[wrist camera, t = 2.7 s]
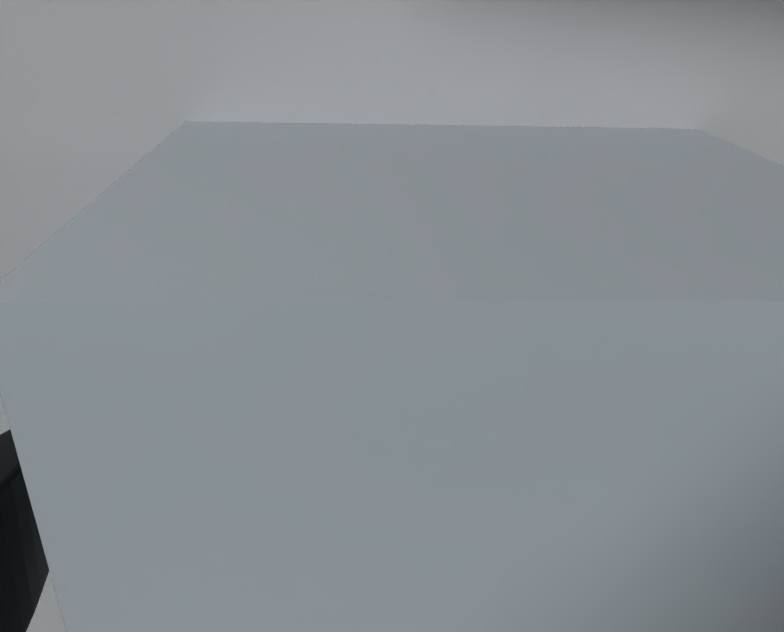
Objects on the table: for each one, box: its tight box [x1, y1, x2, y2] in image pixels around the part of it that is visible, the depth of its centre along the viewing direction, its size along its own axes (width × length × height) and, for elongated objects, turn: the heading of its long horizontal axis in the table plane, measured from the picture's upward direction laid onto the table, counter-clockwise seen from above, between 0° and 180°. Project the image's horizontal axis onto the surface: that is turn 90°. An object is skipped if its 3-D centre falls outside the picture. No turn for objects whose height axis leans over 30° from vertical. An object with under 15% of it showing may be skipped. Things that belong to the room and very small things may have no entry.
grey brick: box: [0, 121, 784, 632], centre depth 8 cm, size 8×6×5 cm
